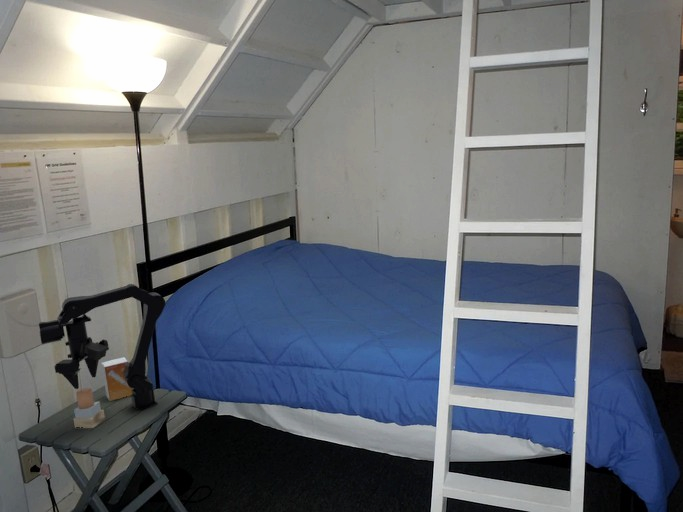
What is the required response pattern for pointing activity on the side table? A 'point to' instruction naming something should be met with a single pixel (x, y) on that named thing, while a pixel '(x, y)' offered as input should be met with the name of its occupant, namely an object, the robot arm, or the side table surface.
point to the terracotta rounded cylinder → (85, 398)
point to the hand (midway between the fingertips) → (85, 382)
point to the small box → (115, 379)
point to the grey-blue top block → (87, 411)
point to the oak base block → (89, 420)
